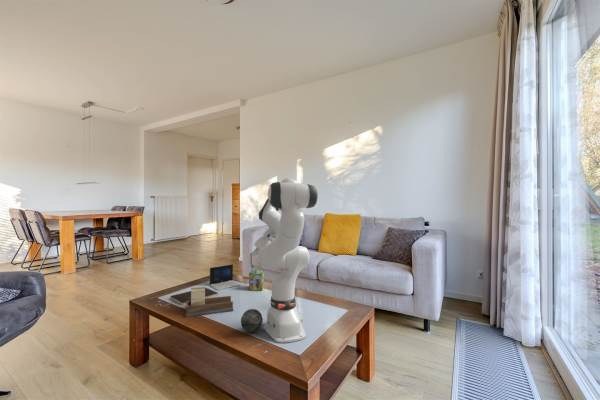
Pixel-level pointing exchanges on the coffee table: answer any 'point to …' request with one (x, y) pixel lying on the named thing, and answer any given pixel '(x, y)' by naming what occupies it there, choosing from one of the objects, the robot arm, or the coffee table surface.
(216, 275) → the laptop
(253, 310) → the decorative stone
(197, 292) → the block
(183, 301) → the hardcover book
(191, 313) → the chute
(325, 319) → the coffee table surface
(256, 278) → the chalk box
